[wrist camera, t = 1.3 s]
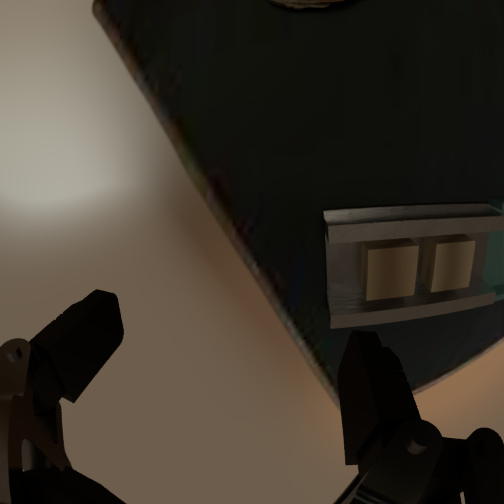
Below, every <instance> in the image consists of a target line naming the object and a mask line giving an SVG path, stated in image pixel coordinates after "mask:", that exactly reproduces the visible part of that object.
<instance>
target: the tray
mask: <svg viewBox="0 0 504 504" xmlns="http://www.w3.org/2000/svg"><path fill="white" fill-rule="evenodd" d="M488 203H490V204H491V209H494V210H496V211H498V212H501V213H503V214H504V198H488ZM482 279H483V280H484V281H485V282H487V283H488V284H489V285H490V286H491V287H492V288H493V289H494V290H495V291H496V296H495V299H494V301H498V300H502V299H504V231H491V232H489V235H488V243H487V251H486V258H485V264H484V270H483V275H482Z"/></svg>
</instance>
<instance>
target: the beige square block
mask: <svg viewBox="0 0 504 504" xmlns="http://www.w3.org/2000/svg"><path fill="white" fill-rule="evenodd" d="M418 250H419V246H418V245H417V244H416V243H415V242H414V241H413V240H412V239H410V238H398V239H385V240H372V241H361V283H360V286H361V289H362V291H363V293H364V296H365V298H366V301H367V300H376V299H385V298H394V297H402V296H410V295H414V290H415V282H416V273H417V263H418Z"/></svg>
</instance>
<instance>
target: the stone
mask: <svg viewBox="0 0 504 504" xmlns="http://www.w3.org/2000/svg"><path fill="white" fill-rule="evenodd" d="M270 1H271V3H273V4H275V5H277V6H283V7H286V8H293V9H295V10H301V9H304V8H308V7H312V8H317V7H319V8H324V7H328V6H329V5H330V4H331V3H334V2H338V1H344V0H270Z"/></svg>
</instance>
